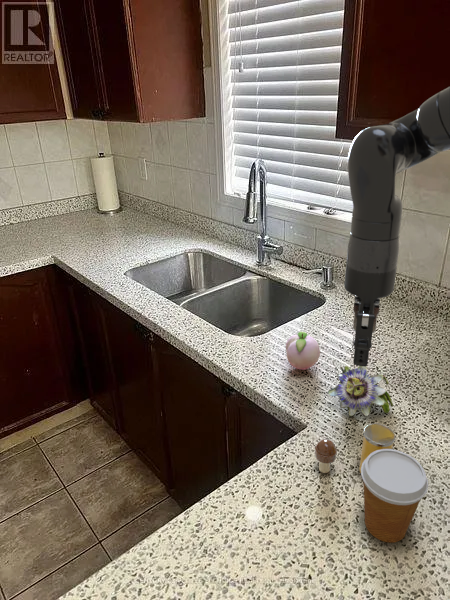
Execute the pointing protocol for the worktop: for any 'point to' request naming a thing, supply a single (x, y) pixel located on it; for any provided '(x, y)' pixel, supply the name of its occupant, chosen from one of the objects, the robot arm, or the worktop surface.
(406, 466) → the disposable coffee cup
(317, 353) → the decorative fruit
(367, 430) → the yellow tin
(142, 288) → the worktop surface
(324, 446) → the mushroom
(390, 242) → the robot arm
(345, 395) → the passion flower
